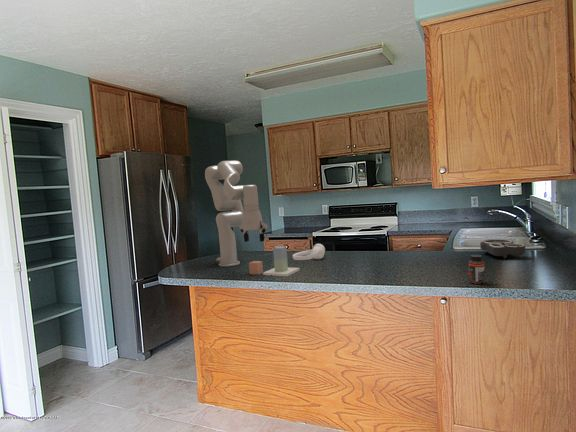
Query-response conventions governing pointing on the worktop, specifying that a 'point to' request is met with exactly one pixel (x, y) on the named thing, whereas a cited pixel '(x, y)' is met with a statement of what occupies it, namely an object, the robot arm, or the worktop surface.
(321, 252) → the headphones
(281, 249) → the brick mid
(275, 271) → the plate
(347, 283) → the worktop surface
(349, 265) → the worktop surface
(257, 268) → the brick top
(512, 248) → the motorcycle dashboard
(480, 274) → the supplement bottle
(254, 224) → the robot arm
